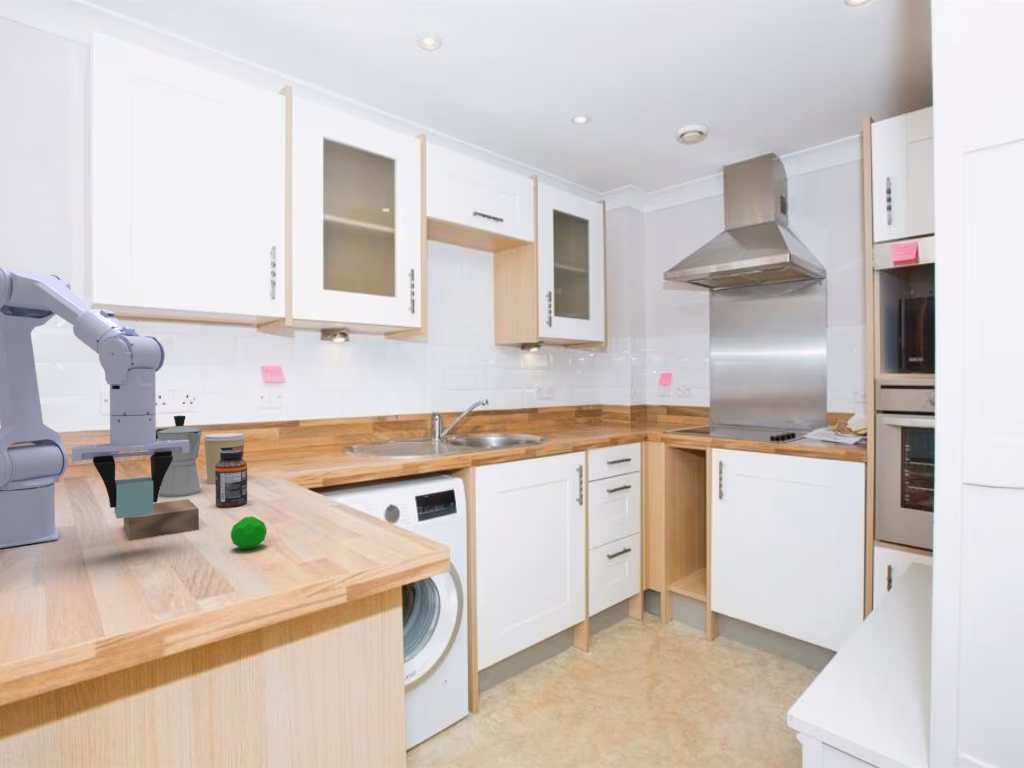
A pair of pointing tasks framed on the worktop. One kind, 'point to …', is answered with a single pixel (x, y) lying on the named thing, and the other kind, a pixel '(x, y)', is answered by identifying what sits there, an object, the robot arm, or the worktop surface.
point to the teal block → (134, 497)
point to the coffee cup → (220, 449)
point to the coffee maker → (181, 461)
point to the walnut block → (163, 520)
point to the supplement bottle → (231, 479)
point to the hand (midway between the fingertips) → (133, 503)
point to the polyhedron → (248, 533)
